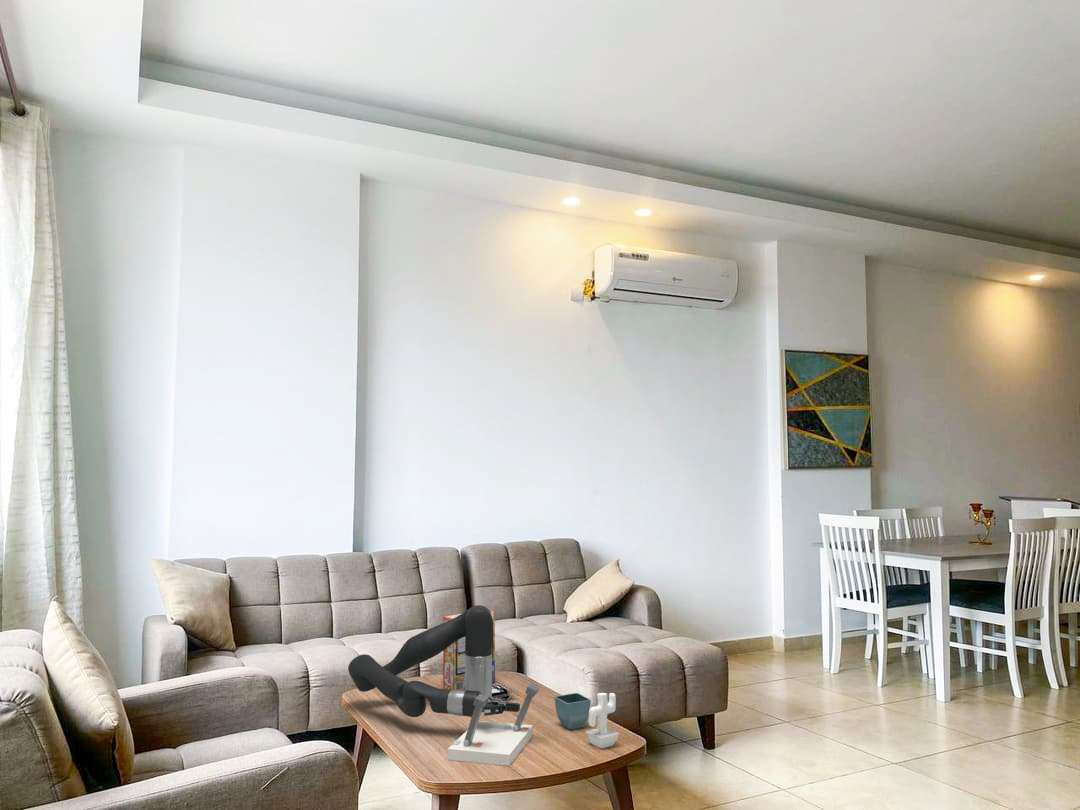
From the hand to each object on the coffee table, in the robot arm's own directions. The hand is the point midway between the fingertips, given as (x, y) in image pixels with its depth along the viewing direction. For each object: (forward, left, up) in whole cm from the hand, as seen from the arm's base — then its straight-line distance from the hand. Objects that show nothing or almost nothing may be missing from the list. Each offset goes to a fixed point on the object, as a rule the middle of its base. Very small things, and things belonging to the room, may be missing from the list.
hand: (519, 707), depth 249 cm
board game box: (-50, -33, -10) cm, 61 cm away
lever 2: (0, -1, -6) cm, 7 cm away
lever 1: (+16, -11, -6) cm, 20 cm away
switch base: (+8, -6, -9) cm, 14 cm away
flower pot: (-16, +13, -10) cm, 23 cm away
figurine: (-2, +25, -10) cm, 27 cm away
